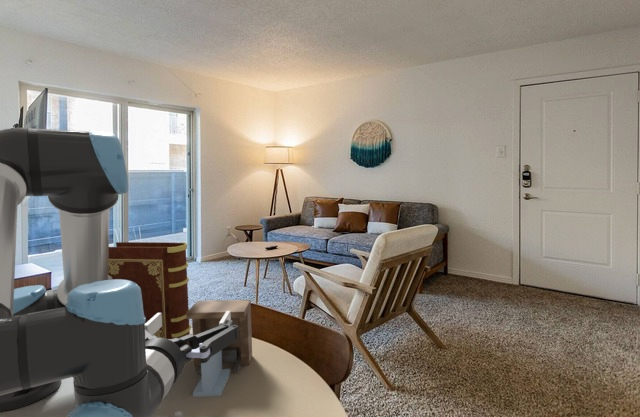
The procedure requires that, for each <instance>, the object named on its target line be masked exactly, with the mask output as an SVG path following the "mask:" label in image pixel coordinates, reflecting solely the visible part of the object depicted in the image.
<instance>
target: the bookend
mask: <svg viewBox="0 0 640 417" xmlns="http://www.w3.org/2000/svg"><path fill="white" fill-rule="evenodd" d="M200 375H201V378H200V379H199V381H198V383H197V384H196V386H195V389H194V390H193V392H192V396H193V397H194V398H195V397H197V398H198V397H201V398H202V397H221V396H222V394H223V392H224V389H225V386H226V384H227V382H228V380H229V378H230V375H231V368H223V362H222V351H219V352H218V353H216V354H215V355H213V356H212V357H211V358H210V359H209V360H208V362H206V363H201V374H200Z"/></svg>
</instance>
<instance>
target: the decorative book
mask: <svg viewBox="0 0 640 417" xmlns="http://www.w3.org/2000/svg"><path fill="white" fill-rule="evenodd" d="M187 250H188V243H187V242H150V241H148V242H147V241H145V242H143V241H142V242H140V241H139V242H138V241H137V242H136V241H133V242H132V241H130V242H129V241H124V242H122V241H121V242H120V241H119V242H118V241H117V242H115V246H109V257H108V275H109V276H110V277H111V278H112V279H122V280H129V281H133V282H135V283H136V284H137V285H138V286H139V287H140V289H141V294H142V302H143V311H144V316H145V321H146V322H145V323H147V322H148V321H149V320H150V319H151V318H152V317H153V316H155V315H156V314H157V313H161V314H162V327H161V328H160V329H159V330H158V331H157V332H156V333H155V334H154V335H155V336H156V337H157V338H166V339H174V338H181V337H184V336H186V335H189V334H191V332H190V331H191V330H192V323H190V319H186V313H187V312H188V310H189V309H190V307H189V290H188V288H189V287H188V283H189V281H190V279H189V276H188V267H189V262H187ZM187 343H188V344H189V341H187Z"/></svg>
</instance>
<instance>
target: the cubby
mask: <svg viewBox="0 0 640 417" xmlns="http://www.w3.org/2000/svg"><path fill="white" fill-rule="evenodd" d="M251 301H252V300H251V299H220V300H218V299H214V300H211V299H210V300H197V301H196V302H195V303H193V305H192V306H191V307H189V310H188V312H187V313H186V319H189V320H191V330H192V335H197V334H200V333H202V332H205V331H207V330H210V329H213V328H215V327H218V326H219V322H220V321H221V319H222V317H223V316H224V314H225V313H226V311H230V315H231V320H232V324H233V325H238V340H237V341H235V342H234V343H232V344H230V345H229V346H227V347H226V348H224V349H223V350H221V351H222V363H227V362H228V363H230V362H231V363H232V362H233V363H235V364H234V367H233V374H239V372H240V369H241V368H242V366H250V363H251V362H252V358H253V339H252V337H253V336H252V335H253V334H252V310H251V309H252V308H251V306H252V305H251V303H252V302H251ZM193 365H194V367H197V369H196V373H197V375H202V374H201V363H200V358H193Z"/></svg>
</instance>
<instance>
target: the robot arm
mask: <svg viewBox="0 0 640 417" xmlns="http://www.w3.org/2000/svg"><path fill="white" fill-rule="evenodd" d="M128 192H129V180H128V173H127V166H126V161H125V156H124V151H123V147H122V143H121V140H120V138H119V137H118V136H117V135H116V134H114V133H112V132H104V131H95V130H91V129H90V130H88V131H87V130H71V129H51V128H49V129H48V128H47V129H46V128H29V127H13V128H4V129H2V130H0V412H6V411H10V410H11V411H12V410H15V409H18V408H23V407H25V406H28V405H31V404H33V403H36V402H39V401H40V400H42V399H45V398H46V397H48V396H50V395H51V394H53V393H54V392H55V391H57V390H58V388H59V387H60V386H61V384H62V380H66V379H70V378H73V391H74V392H73V394H74V404H75V405H74V406H75V407H74V409H72V410H70V412H69V413H68V415H67V416H66V417H153V416H154V414H155V413H156V412H157V410H158V408H159V406H160V405H161V404H162V401H163V400H164V399H165V397H166V396H167V395H168V393H169V391H170V390H171V388H172V387H173V385H174V384H175V383H176V382H177V380H178V378H179V377H180V375H181V373H182V372H183V369H184V366H185V364H186V363H187V362H189V361H191V359H194V358H200V363H206V362H208V360H209V359H210V358H211V357H212V356H213V355H215V354H216V353H218V352H219V351H221V350H223V349H224V348H226V347H227V346H229V345H230V344H232V343H234V342H235V341H237V340H238V325H233V324H232V320H231V315H230V311H226V313H225V314H224V316H223V317H222V319H221V321H220V322H219V326H218V327H215V328H213V329H210V330H207V331H205V332H202V333H200V334H197V335H193V333H190V334H189V335H186V336H184V337H181V338H174V339H166V338H157V337H156V336H155V335H154V334H155V333H156V332H157V331H158V330H159V329H160V328H161V327H162V314H161V313H157V314H156V315H155V316H153V317H152V318H151V319H150V320H149V321H148V322H147V323H145V322H146V321H145V316H144V311H143V302H142V294H141V289H140V287H139V286H138V285H137V284H136V283H135V282H133V281H129V280H122V279H112V278H111V277H110V276H109V275H108V257H109V247H110V213H111V212H110V210H111V209H112V208H113V207H115V205H116V204H117V203H118V201H119V195H124V194H126V193H128ZM25 197H47V198H48V201H49V203H50V204H51V206H52V207H54V208H55V209H56V210H58V213H59V214H58V215H59V224H60V226H59V227H60V228H59V229H60V241H61V243H60V244H61V252H62V254H61V255H62V268H63V269H62V271H63V279H62V280H61V282H60V283H59V285H58V286H57V289H53V290H47V289H46V287H45V285H42V284H35V285H27V286H22V287H17V288H15V273H16V272H15V271H16V251H17V248H16V247H17V228H18V224H17V223H18V206H19V205H20V204H21V203H22V202H23V201H24V199H25ZM187 341H189V344H188V343H187Z"/></svg>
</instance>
